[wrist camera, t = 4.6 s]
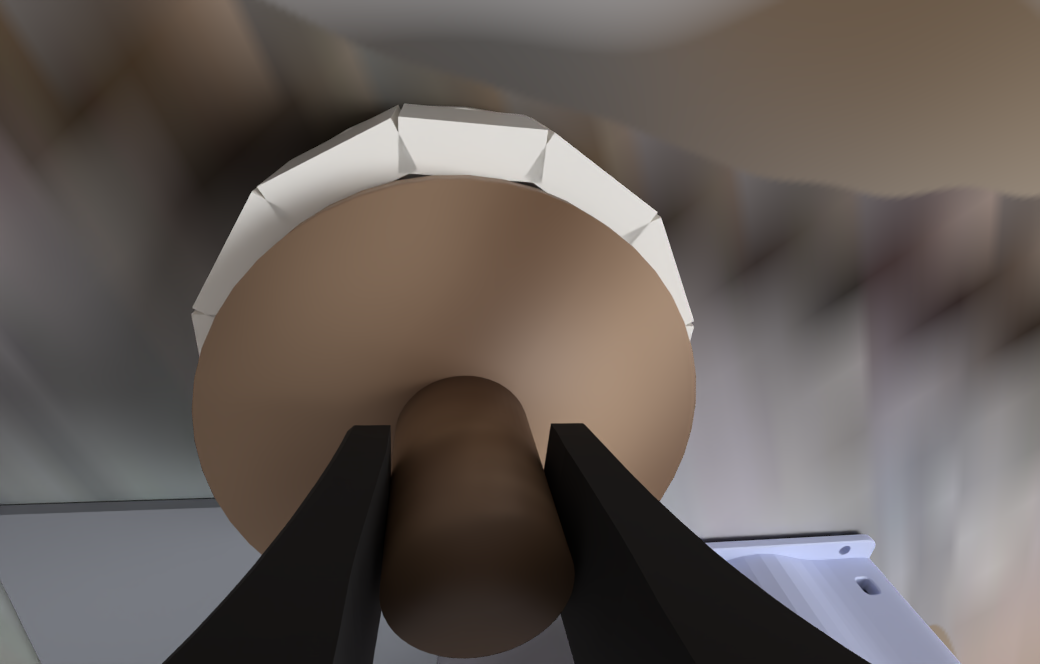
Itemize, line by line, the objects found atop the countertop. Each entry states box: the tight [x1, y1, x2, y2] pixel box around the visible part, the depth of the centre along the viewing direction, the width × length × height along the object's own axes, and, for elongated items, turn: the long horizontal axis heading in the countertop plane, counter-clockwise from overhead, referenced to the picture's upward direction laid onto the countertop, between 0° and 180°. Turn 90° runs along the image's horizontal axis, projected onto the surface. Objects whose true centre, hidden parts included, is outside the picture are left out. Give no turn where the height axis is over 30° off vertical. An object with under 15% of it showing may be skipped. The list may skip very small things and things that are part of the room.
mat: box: [0, 499, 437, 664], centre depth 20 cm, size 14×10×1 cm
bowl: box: [191, 104, 694, 357], centre depth 14 cm, size 11×11×4 cm
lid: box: [192, 175, 696, 658], centre depth 10 cm, size 10×10×5 cm
